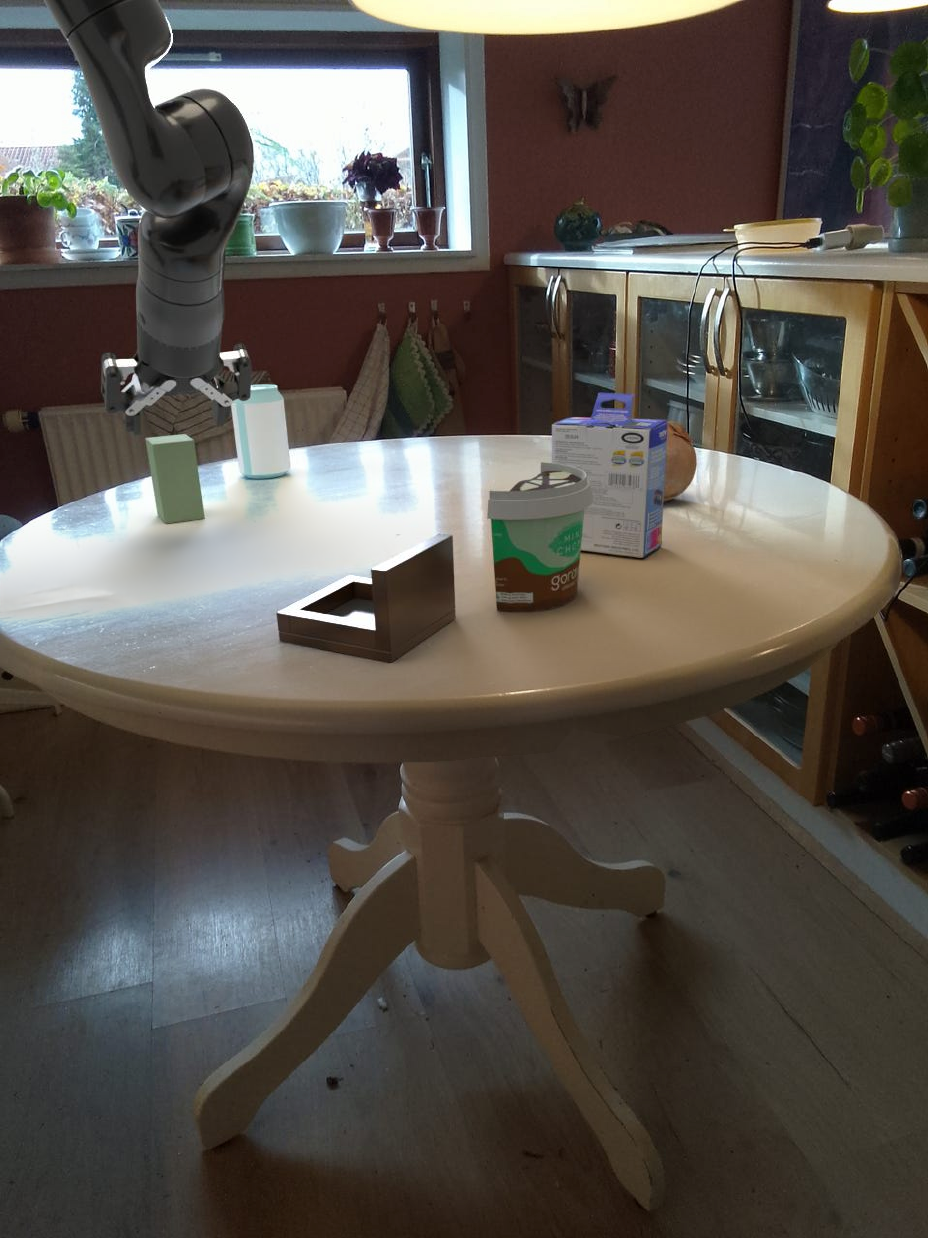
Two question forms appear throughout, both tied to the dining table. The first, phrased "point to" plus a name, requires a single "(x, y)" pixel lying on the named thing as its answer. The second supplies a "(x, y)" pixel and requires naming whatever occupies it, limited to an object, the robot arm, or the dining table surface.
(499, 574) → the food container
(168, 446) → the green rectangular block
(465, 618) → the dining table surface
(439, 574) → the seat frame
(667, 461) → the onion
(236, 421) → the can
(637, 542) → the ink cartridge box
